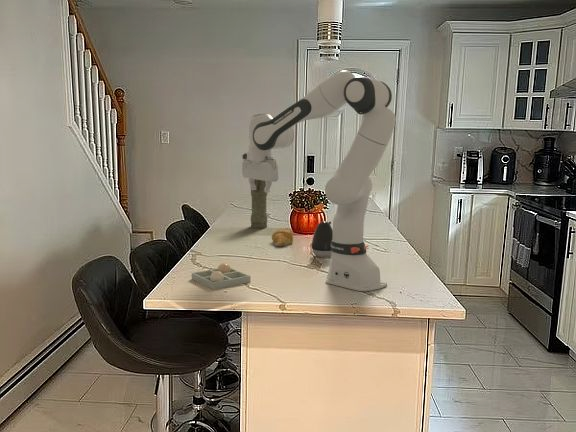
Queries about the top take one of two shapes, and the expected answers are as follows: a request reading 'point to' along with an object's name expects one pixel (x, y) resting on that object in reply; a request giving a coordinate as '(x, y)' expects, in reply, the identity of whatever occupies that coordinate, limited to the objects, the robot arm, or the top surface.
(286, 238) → the croissant
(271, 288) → the top surface
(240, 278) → the carton
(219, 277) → the pale egg
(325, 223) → the pump dispenser
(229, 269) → the brown egg
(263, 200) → the thermos
